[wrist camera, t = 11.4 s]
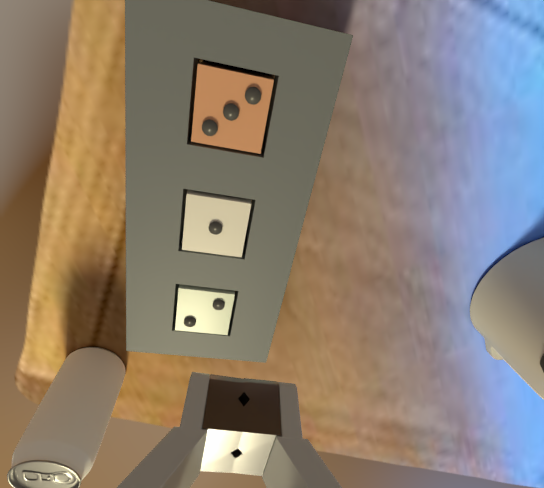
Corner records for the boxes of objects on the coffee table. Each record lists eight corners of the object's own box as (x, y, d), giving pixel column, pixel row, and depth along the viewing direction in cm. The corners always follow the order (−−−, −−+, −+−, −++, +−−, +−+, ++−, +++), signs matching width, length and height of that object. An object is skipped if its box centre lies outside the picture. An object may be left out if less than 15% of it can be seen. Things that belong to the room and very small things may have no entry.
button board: (341, 36, 25) (352, 35, 23) (264, 341, 39) (265, 362, 37) (138, -13, 23) (125, -20, 20) (134, 329, 37) (126, 350, 35)
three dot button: (270, 76, 26) (274, 80, 23) (258, 143, 28) (260, 154, 26) (202, 61, 25) (197, 64, 22) (195, 132, 28) (190, 142, 25)
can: (125, 387, 42) (85, 503, 31) (66, 381, 40) (4, 498, 30) (129, 349, 39) (86, 461, 28) (65, 340, 37) (-4, 455, 27)
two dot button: (235, 275, 34) (234, 295, 32) (228, 314, 37) (227, 336, 34) (183, 269, 34) (178, 289, 31) (179, 309, 36) (174, 331, 33)
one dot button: (250, 190, 30) (251, 204, 27) (241, 240, 33) (241, 258, 30) (191, 180, 29) (186, 194, 27) (186, 232, 32) (181, 250, 29)
